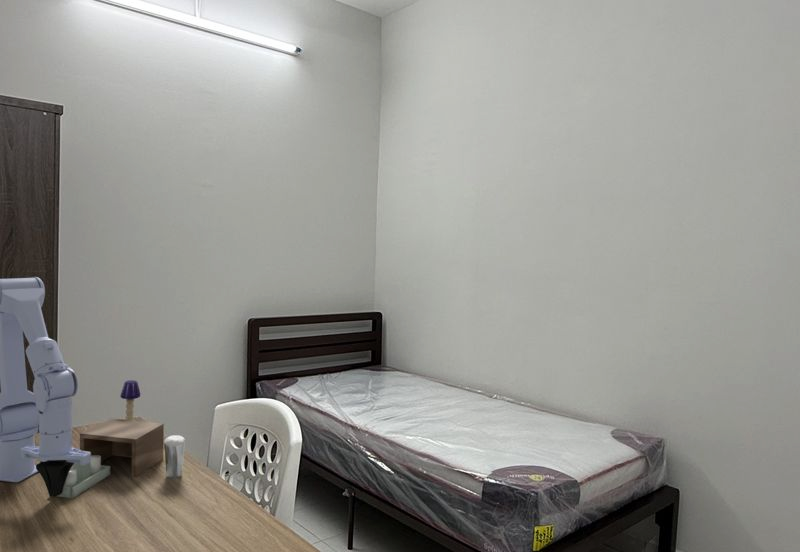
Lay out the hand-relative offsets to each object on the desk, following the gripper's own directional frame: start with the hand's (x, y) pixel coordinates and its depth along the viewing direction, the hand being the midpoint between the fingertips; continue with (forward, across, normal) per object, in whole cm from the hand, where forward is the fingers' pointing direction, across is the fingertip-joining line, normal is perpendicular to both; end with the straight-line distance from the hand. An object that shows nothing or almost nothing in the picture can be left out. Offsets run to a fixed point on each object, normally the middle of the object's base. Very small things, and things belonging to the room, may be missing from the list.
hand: (55, 494), depth 119 cm
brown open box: (+1, +2, +19) cm, 19 cm away
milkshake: (+1, +17, +16) cm, 24 cm away
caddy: (+1, 0, +7) cm, 7 cm away
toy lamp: (+1, -4, +30) cm, 31 cm away
